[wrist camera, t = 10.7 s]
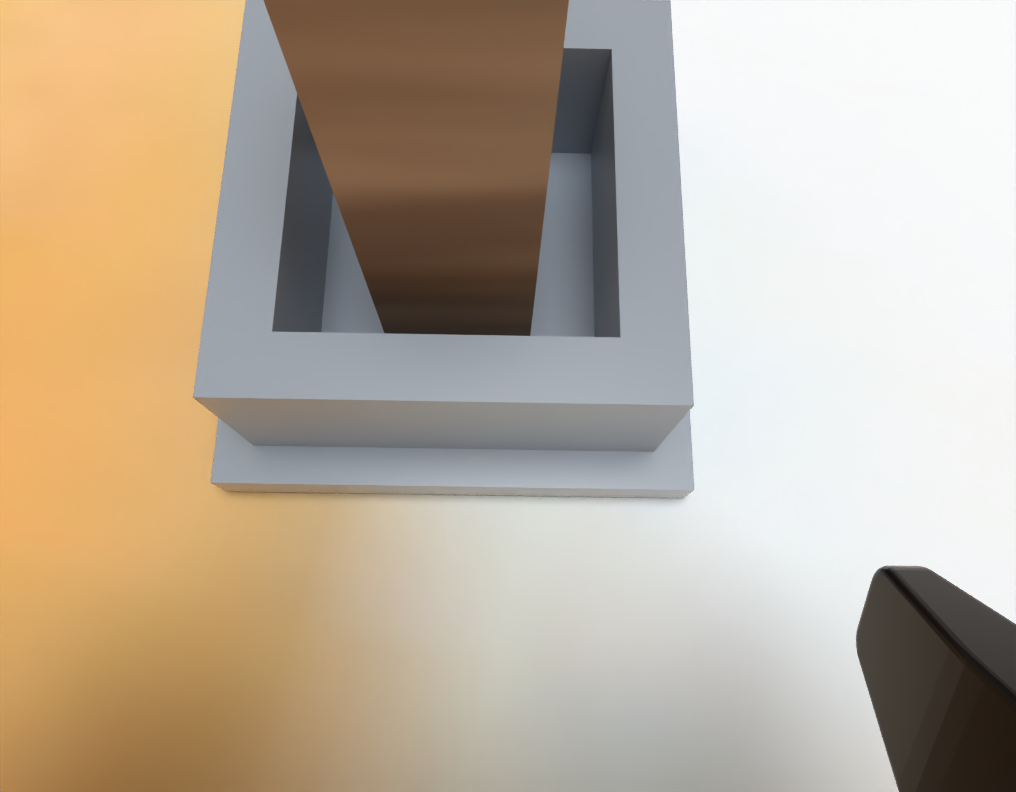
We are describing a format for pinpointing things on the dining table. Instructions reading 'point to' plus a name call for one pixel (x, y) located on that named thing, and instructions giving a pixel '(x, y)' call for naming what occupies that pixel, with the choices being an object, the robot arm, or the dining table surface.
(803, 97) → the dining table surface
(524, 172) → the brown wooden block
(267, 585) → the dining table surface
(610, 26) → the end cap
